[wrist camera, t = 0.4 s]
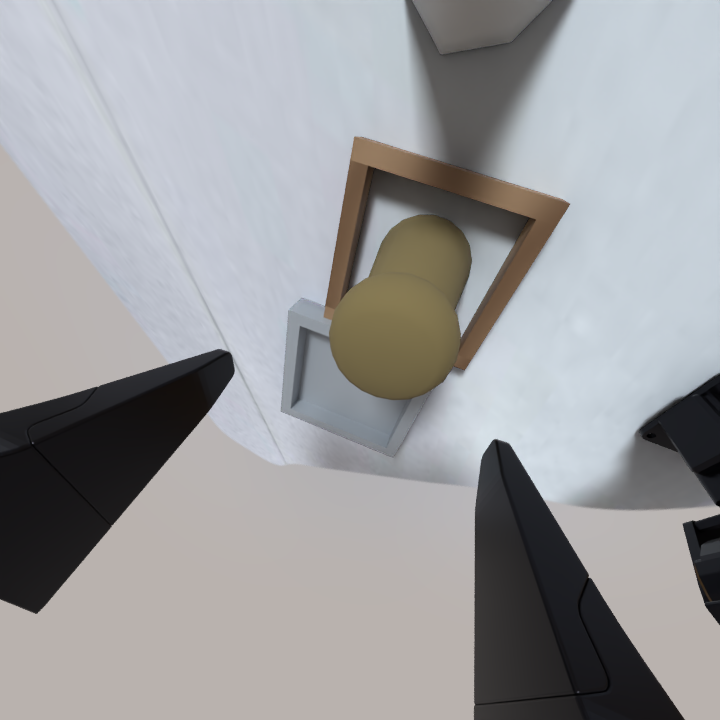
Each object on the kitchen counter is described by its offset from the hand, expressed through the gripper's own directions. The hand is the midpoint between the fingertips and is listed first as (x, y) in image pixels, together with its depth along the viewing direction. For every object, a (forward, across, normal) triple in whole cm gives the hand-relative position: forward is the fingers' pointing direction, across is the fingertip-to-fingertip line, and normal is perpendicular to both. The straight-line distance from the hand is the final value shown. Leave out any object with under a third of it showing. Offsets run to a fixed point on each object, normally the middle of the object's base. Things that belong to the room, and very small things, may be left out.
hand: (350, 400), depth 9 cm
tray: (+13, +3, +11) cm, 17 cm away
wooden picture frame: (+13, 0, 0) cm, 13 cm away
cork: (+13, 0, 0) cm, 13 cm away
